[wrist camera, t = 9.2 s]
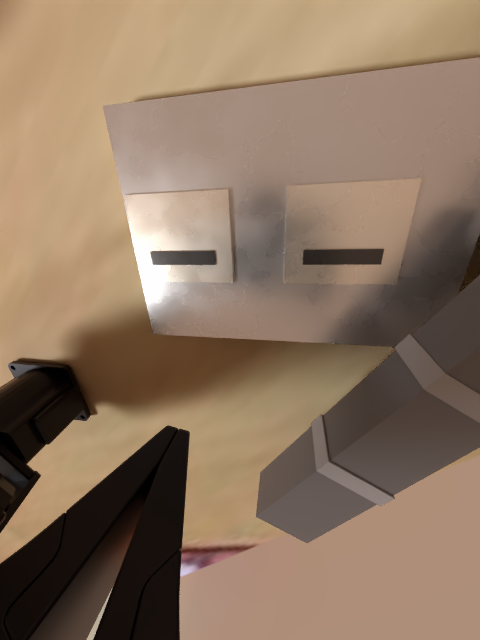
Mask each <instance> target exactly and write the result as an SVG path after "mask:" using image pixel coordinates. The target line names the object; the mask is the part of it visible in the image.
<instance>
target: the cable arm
mask: <svg viewBox="0 0 480 640" xmlns="http://www.w3.org/2000/svg"><path fill="white" fill-rule="evenodd" d="M394 348H395V350H396V351H395V352H393V353H392V354H391V355H390V356H389V357H388V358H387V359H386V360H385V361H383V362H382V363H381V364H380V365H379V366H378V367H377V368H376V369H375V370H373V371H372V372H371V373H370V374H369V375H368V376H367V377H366V378H365V379H363V380H362V381H361V382H360V383H359V384H358V385H357V386H356V387H355V388H353V389H352V390H351V391H350V392H349V393H348V394H347V395H346V396H345V397H344V398H342V399H341V400H340V401H339V402H338V403H337V404H336V405H335V406H334V407H332V408H331V409H330V410H329V411H328V412H327V413H326V414H325V415H324V416H323V415H322V414H321V415H320V416H319V417H318V418H317V419H315V420H314V421H313V422H312V426H311V427H310V428H309V429H308V430H307V431H306V432H305V433H304V434H302V435H301V436H300V437H299V438H298V439H297V440H296V441H295V442H294V443H292V444H291V445H290V446H289V447H288V448H287V449H286V450H285V451H284V452H282V453H281V454H280V455H279V456H278V457H277V458H276V459H275V460H274V461H272V462H271V463H270V464H269V465H268V466H267V467H266V468H265V469H264V470H262V471H261V473H260V483H259V492H258V502H257V512H256V517H258V518H260V519H261V520H263V521H265V522H267V523H269V524H271V525H273V526H275V527H277V528H279V529H281V530H283V531H284V532H286V533H288V534H290V535H292V536H294V537H296V538H298V539H300V540H302V541H304V542H306V543H308V542H310V541H312V540H314V539H315V538H317V537H319V536H321V535H323V534H325V533H326V532H328V531H330V530H332V529H334V528H335V527H337V526H339V525H341V524H342V523H344V522H346V521H348V520H350V519H351V518H353V517H355V516H357V515H359V514H361V513H362V512H364V511H366V510H368V509H369V508H371V507H373V506H375V505H379V506H382V505H384V504H386V503H388V502H389V501H391V500H393V499H395V498H394V495H395V494H397V493H398V492H400V491H402V490H404V489H406V488H407V487H409V486H411V485H413V484H415V483H416V482H418V481H420V480H422V479H424V478H425V477H427V476H429V475H431V474H433V473H434V472H436V471H438V470H440V469H442V468H443V467H445V466H447V465H449V464H451V463H452V462H454V461H456V460H458V459H460V458H461V457H463V456H465V455H467V454H469V453H470V452H472V451H474V450H476V449H477V448H479V447H480V275H479V276H478V277H477V278H476V279H474V280H473V281H472V282H471V283H470V284H469V285H468V286H467V287H466V288H464V289H463V290H462V291H461V292H460V293H459V294H458V295H457V296H456V297H454V298H453V299H452V300H451V301H450V302H449V303H448V304H447V305H446V306H445V307H443V308H442V309H441V310H440V311H439V312H438V313H437V314H436V315H435V316H433V317H432V318H431V319H430V320H429V321H428V322H427V323H426V324H425V325H423V326H422V327H421V328H420V329H419V330H418V331H417V332H416V333H415V334H413V335H411V334H409V335H408V336H407V337H405V338H404V339H403V340H402V341H401V342H400V343H399V344H398V345H397V346H396V347H394Z"/></svg>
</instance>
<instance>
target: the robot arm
mask: <svg viewBox="0 0 480 640" xmlns="http://www.w3.org/2000/svg"><path fill="white" fill-rule="evenodd" d="M8 367H9V369H10V371H11V373H12V374H13V376H14V379H12V380H11V381H9V382H8V383H6V384H5V385H3V386H2V387H0V533H1V531H2V530H3V529H4V527H5V526H6V524H7V523H8V522H9V520H10V519H11V517H12V516H13V514H14V513H15V512H16V510H17V509H18V507H19V506H20V505H21V503H22V502H23V500H24V499H25V498H26V496H27V495H28V493H29V492H30V490H31V489H32V488H33V486H34V485H35V483H36V482H37V481H38V479H39V478H40V476H41V475H40V474H39V473H38V472H37V471H34V470H32V469H31V468H30V467H29V466H28V465H27V463H28V462H29V461H30V460H31V459H32V458H33V457H34V456H35V455H36V454H37V453H38V452H39V451H40V450H41V449H42V448H43V447H44V446H45V445H46V444H50V443H51V442H52V441H53V440H54V439H55V438H56V437H57V436H58V435H59V434H60V433H61V432H62V431H63V430H64V429H65V428H66V427H67V426H68V425H69V424H70V423H71V422H72V421H73V420H82V421H86V420H87V419H88V418H89V417H90V413H89V411H88V409H87V406H86V404H85V401H84V399H83V396H82V394H81V391H80V389H79V387H78V384H77V382H76V379H75V377H74V374H73V372H72V370H71V368H70V367H69V366H67V365H59V364H46V363H34V362H21V361H13V362H11V363H10V364H8ZM189 437H190V432H189V431H186V430H183V429H179V430H178V428H176V427H172V426H166V427H165V428H163V429H162V430H161V431H160V432H159V433H158V434H156V435H155V436H154V437H153V438H152V439H150V440H149V441H148V442H147V443H146V444H145V445H143V446H142V447H141V448H140V449H139V450H138V451H136V452H135V453H134V454H133V455H132V456H130V457H129V458H128V459H127V460H126V461H125V462H123V463H122V464H121V465H120V466H119V467H118V468H116V469H115V470H114V471H113V472H112V473H110V474H109V475H108V476H107V477H106V478H105V479H103V480H102V481H101V482H100V483H99V484H97V485H96V486H95V487H94V488H93V489H92V490H90V491H89V492H88V493H87V494H86V495H85V496H83V497H82V498H81V499H80V500H79V501H77V502H76V503H75V504H74V505H73V506H72V507H70V508H69V509H68V510H67V512H66V513H63V514H62V515H61V516H60V517H58V518H57V519H56V520H55V521H54V522H53V523H51V524H50V525H49V526H48V527H47V528H45V529H44V530H43V531H42V532H41V533H39V534H38V535H37V536H36V537H34V538H33V539H32V540H31V541H29V542H28V543H27V544H26V545H24V546H23V547H22V548H20V549H19V550H18V551H17V552H15V553H14V554H13V555H11V556H10V557H9V558H7V559H6V560H5V561H3V562H2V563H1V564H0V640H86V639H87V637H88V635H89V633H90V631H91V629H92V627H93V625H94V623H95V621H96V619H97V617H98V615H99V613H100V611H101V609H102V607H103V605H104V603H105V601H106V599H107V597H108V595H109V593H110V591H111V589H112V587H113V589H112V592H111V594H110V597H109V600H108V602H107V605H106V608H105V611H104V613H103V616H102V618H101V621H100V624H99V626H98V629H97V631H96V634H95V637H94V639H93V640H180V631H179V591H180V589H179V588H180V568H181V554H182V552H181V549H182V537H183V523H184V509H185V494H186V480H187V465H188V451H189ZM114 583H115V584H114ZM113 585H114V586H113Z"/></svg>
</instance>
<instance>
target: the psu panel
mask: <svg viewBox="0 0 480 640" xmlns="http://www.w3.org/2000/svg"><path fill="white" fill-rule="evenodd" d="M103 109H104V114H105V118H106V123H107V127H108V132H109V137H110V141H111V146H112V150H113V155H114V159H115V164H116V168H117V173H118V177H119V182H120V187H121V191H122V196H123V200H124V205H125V209H126V214H127V218H128V223H129V227H130V232H131V236H132V241H133V246H134V250H135V255H136V259H137V264H138V268H139V273H140V277H141V282H142V286H143V291H144V296H145V300H146V305H147V309H148V314H149V318H150V323H151V327H152V332H153V334H156V335H175V336H195V337H214V338H234V339H253V340H273V341H292V342H312V343H331V344H351V345H370V346H390V347H396V346H397V345H398V344H399V343H400V342H401V341H402V340H403V339H404V338H405V337H407V336H408V335H409V334H411V335H413V334H415V333H416V332H417V331H418V330H419V329H420V328H421V327H422V326H423V325H425V324H426V323H427V322H428V321H429V320H430V319H431V318H432V317H433V316H435V315H436V314H437V313H438V312H439V311H440V310H441V309H442V308H443V307H445V306H446V305H447V304H448V303H449V302H450V301H451V300H452V299H453V298H454V297H456V296H457V295H458V293H459V290H460V287H461V285H462V282H463V279H464V276H465V273H466V270H467V268H468V265H469V262H470V259H471V256H472V253H473V251H474V248H475V245H476V242H477V239H478V237H479V234H480V57H477V58H469V59H462V60H454V61H446V62H438V63H431V64H423V65H415V66H407V67H400V68H392V69H384V70H376V71H369V72H361V73H353V74H346V75H338V76H330V77H322V78H315V79H307V80H299V81H291V82H284V83H276V84H268V85H260V86H253V87H245V88H237V89H230V90H222V91H214V92H206V93H199V94H191V95H183V96H175V97H168V98H160V99H152V100H144V101H137V102H129V103H121V104H114V105H106V106H103Z"/></svg>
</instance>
